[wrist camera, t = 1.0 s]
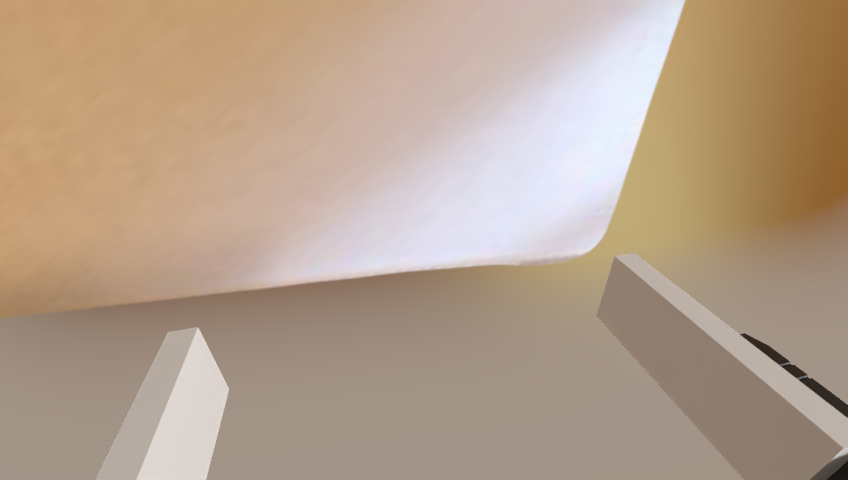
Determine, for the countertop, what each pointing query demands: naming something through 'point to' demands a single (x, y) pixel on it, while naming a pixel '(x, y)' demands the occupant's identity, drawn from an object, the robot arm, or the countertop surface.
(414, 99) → the countertop surface
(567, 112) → the countertop surface
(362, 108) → the countertop surface
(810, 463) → the robot arm
